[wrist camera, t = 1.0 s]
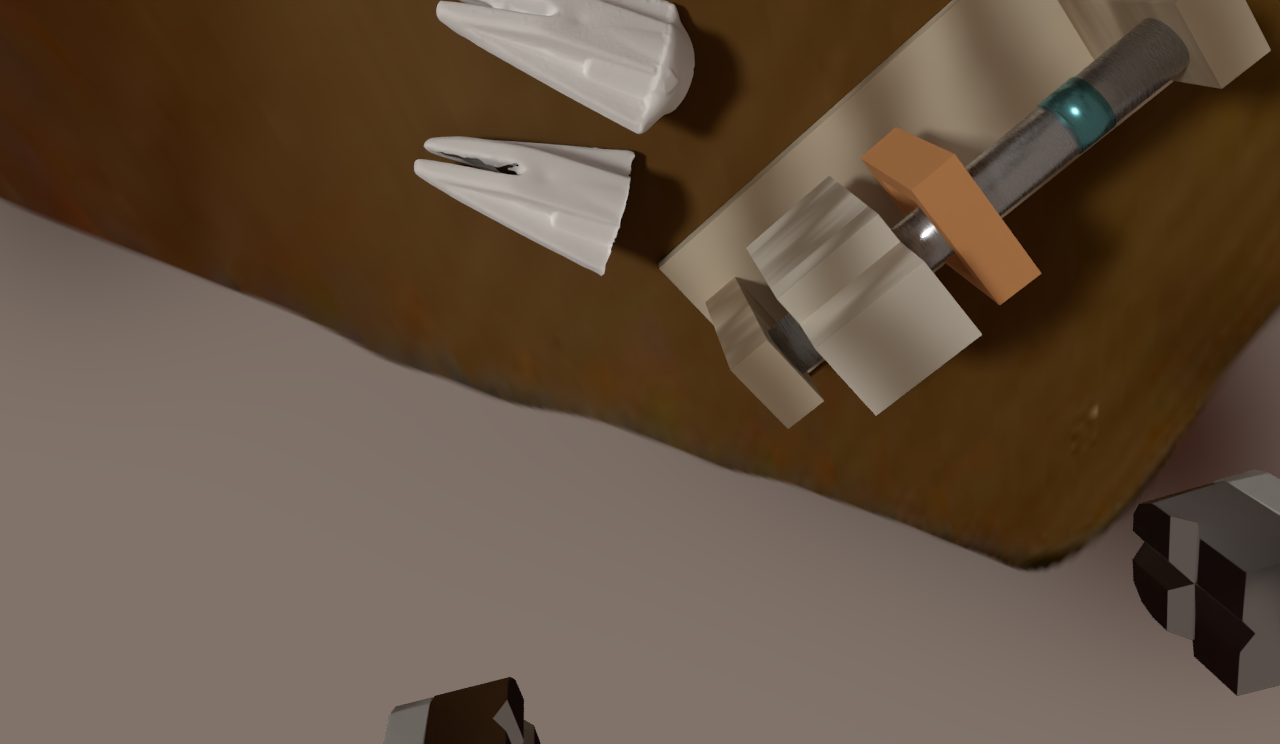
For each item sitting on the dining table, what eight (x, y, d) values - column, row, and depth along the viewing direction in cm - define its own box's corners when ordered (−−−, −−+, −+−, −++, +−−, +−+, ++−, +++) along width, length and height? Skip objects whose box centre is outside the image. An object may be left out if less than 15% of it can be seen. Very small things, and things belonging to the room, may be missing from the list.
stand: (1062, -99, 36) (1201, -122, 28) (1164, 78, 40) (1314, 102, 31) (657, 263, 42) (675, 330, 34) (777, 388, 46) (819, 476, 37)
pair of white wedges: (710, 23, 37) (482, -97, 35) (722, 27, 34) (467, -108, 31) (602, 253, 42) (393, 160, 40) (602, 280, 38) (370, 179, 36)
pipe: (1128, 15, 33) (1171, 17, 30) (1158, 66, 34) (1201, 73, 31) (761, 321, 38) (773, 344, 35) (796, 359, 38) (810, 384, 36)
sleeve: (829, 175, 38) (900, 231, 29) (913, 280, 40) (1002, 360, 32) (745, 248, 39) (791, 322, 30) (832, 344, 41) (897, 439, 33)
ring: (895, 126, 37) (955, 154, 31) (972, 229, 39) (1041, 273, 33) (860, 157, 37) (911, 190, 31) (938, 257, 40) (999, 305, 34)
